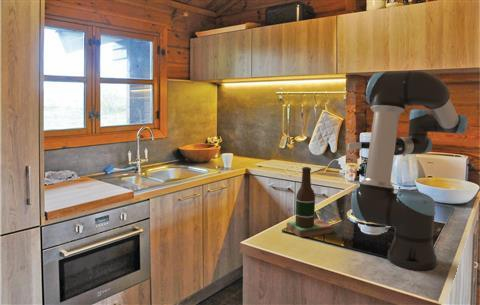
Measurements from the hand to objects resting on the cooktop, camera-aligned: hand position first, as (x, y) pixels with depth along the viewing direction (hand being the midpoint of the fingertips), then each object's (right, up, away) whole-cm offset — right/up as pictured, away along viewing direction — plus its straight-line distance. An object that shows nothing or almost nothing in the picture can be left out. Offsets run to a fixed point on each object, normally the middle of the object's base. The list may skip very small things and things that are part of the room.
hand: (358, 148), depth 160 cm
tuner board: (-20, -34, +2) cm, 39 cm away
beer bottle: (-22, -32, 0) cm, 38 cm away
